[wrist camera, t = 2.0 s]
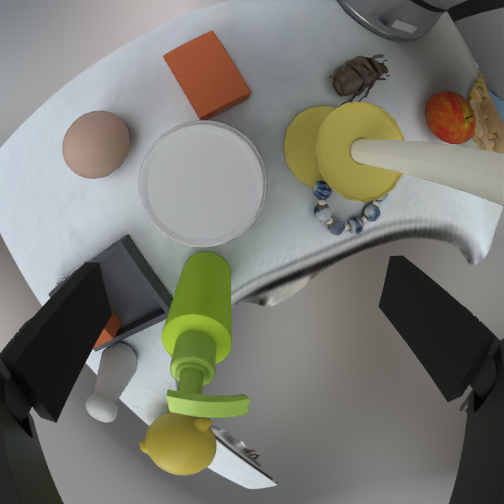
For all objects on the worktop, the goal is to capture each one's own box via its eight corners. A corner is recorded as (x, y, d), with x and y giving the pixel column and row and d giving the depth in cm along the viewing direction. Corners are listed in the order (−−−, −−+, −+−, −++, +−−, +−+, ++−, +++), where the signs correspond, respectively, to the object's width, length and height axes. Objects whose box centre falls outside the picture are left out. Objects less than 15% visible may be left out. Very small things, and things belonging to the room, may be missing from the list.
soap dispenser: (236, 296, 36) (244, 433, 17) (183, 292, 35) (150, 425, 16) (241, 254, 33) (254, 384, 15) (183, 249, 33) (137, 374, 14)
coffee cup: (208, 228, 32) (197, 274, 21) (153, 169, 29) (111, 185, 18) (271, 175, 30) (295, 194, 19) (216, 112, 27) (207, 92, 16)
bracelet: (377, 146, 28) (387, 150, 26) (382, 218, 33) (391, 224, 32) (302, 165, 28) (309, 170, 26) (316, 241, 33) (323, 250, 32)
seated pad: (87, 276, 32) (74, 291, 29) (122, 321, 35) (113, 339, 32) (65, 292, 33) (52, 307, 29) (98, 333, 36) (89, 350, 32)
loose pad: (214, 42, 24) (212, 30, 20) (248, 98, 27) (251, 91, 23) (170, 65, 25) (162, 55, 21) (203, 121, 27) (199, 118, 24)
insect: (388, 49, 21) (371, 43, 23) (328, 77, 22) (313, 70, 24) (396, 85, 25) (380, 77, 27) (342, 115, 26) (327, 105, 28)
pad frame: (128, 234, 31) (120, 241, 29) (177, 303, 35) (174, 315, 33) (56, 285, 33) (48, 294, 31) (101, 341, 37) (95, 351, 35)
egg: (135, 106, 26) (105, 96, 18) (143, 166, 29) (115, 175, 21) (82, 123, 26) (43, 121, 18) (90, 179, 28) (53, 192, 21)
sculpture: (175, 471, 42) (155, 494, 30) (144, 422, 46) (116, 433, 34) (237, 446, 45) (233, 466, 33) (205, 395, 50) (191, 401, 37)
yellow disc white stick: (281, 103, 27) (474, -10, 2) (364, 109, 28) (586, 104, 3) (283, 191, 31) (447, 367, 6) (364, 190, 31) (561, 304, 6)
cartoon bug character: (444, 73, 28) (476, 123, 35) (469, 168, 25) (493, 209, 32) (490, 56, 20) (514, 113, 26) (531, 155, 17) (539, 203, 24)
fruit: (456, 117, 28) (495, 118, 20) (439, 152, 30) (479, 159, 22) (426, 83, 26) (466, 77, 19) (407, 118, 28) (448, 117, 21)
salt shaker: (100, 344, 37) (70, 404, 25) (123, 332, 37) (95, 398, 25) (123, 368, 40) (101, 430, 27) (147, 359, 39) (128, 425, 27)
